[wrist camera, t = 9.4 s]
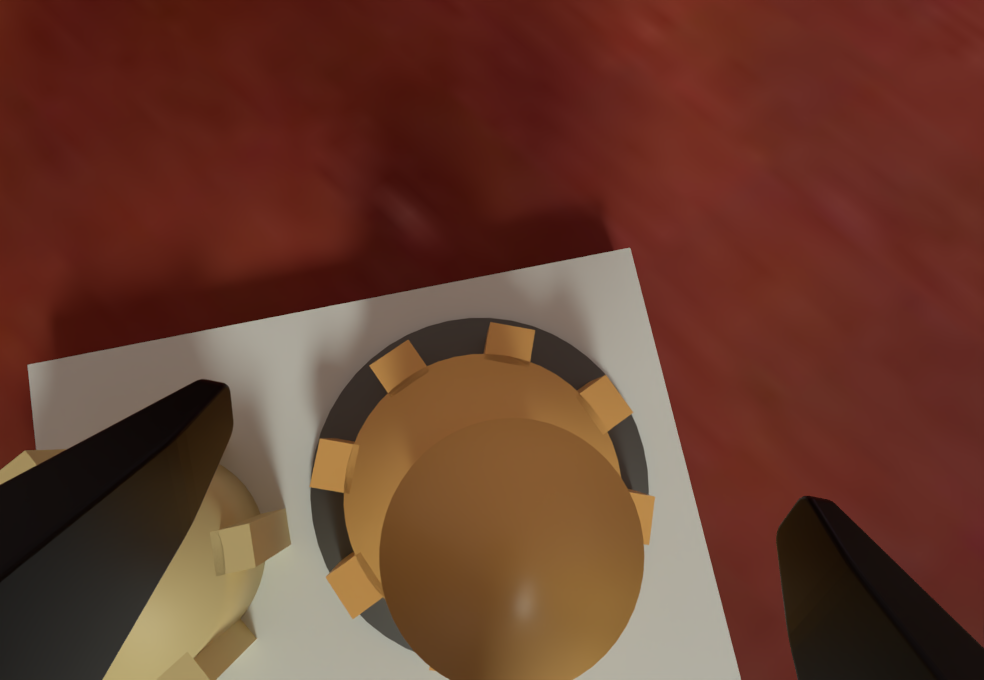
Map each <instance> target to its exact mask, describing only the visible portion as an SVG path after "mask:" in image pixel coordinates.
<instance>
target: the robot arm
mask: <svg viewBox="0 0 984 680" xmlns="http://www.w3.org/2000/svg"><path fill="white" fill-rule="evenodd" d="M233 424H234V421H233V411H232V402H231V392H230V388H229V386H228V385H227V384H225V383H223V382H218V381H212V380H207V379H200V380H197V381H194V382H192V383H191V384H189V385H187V386H185V387H183V388H181V389H179V390H177V391H176V392H174V393H172V394H170V395H168V396H166V397H164V398H162V399H160V400H159V401H157V402H155V403H153V404H151V405H149V406H147V407H145V408H144V409H142V410H140V411H138V412H136V413H134V414H132V415H130V416H128V417H127V418H125V419H123V420H121V421H119V422H117V423H115V424H113V425H112V426H110V427H108V428H106V429H104V430H102V431H100V432H98V433H96V434H95V435H93V436H91V437H89V438H87V439H85V440H83V441H81V442H80V443H78V444H76V445H74V446H72V447H70V448H68V449H66V450H64V451H63V452H61V453H59V454H57V455H55V456H53V457H51V458H49V459H48V460H46V461H44V462H42V463H40V464H38V465H36V466H34V467H32V468H31V469H29V470H27V471H25V472H23V473H21V474H19V475H17V476H16V477H14V478H12V479H10V480H8V481H6V482H4V483H2V484H0V680H103V678H104V676H105V675H106V673H107V671H108V670H109V668H110V666H111V664H112V663H113V661H114V659H115V657H116V656H117V654H118V652H119V651H120V649H121V647H122V645H123V644H124V642H125V640H126V639H127V637H128V635H129V633H130V632H131V630H132V628H133V626H134V625H135V623H136V621H137V620H138V618H139V616H140V614H141V613H142V611H143V609H144V607H145V606H146V604H147V602H148V601H149V599H150V597H151V595H152V594H153V592H154V590H155V588H156V587H157V585H158V583H159V582H160V580H161V578H162V576H163V575H164V573H165V571H166V569H167V568H168V566H169V564H170V563H171V561H172V559H173V557H174V556H175V554H176V552H177V551H178V549H179V547H180V545H181V544H182V542H183V540H184V538H185V537H186V535H187V533H188V531H189V529H190V527H191V526H192V524H193V522H194V519H195V517H196V515H197V513H198V511H199V509H200V506H201V504H202V502H203V499H204V497H205V495H206V493H207V490H208V488H209V486H210V483H211V481H212V479H213V477H214V474H215V472H216V470H217V467H218V465H219V463H220V460H221V458H222V456H223V454H224V451H225V449H226V447H227V444H228V442H229V440H230V437H231V435H232V431H233ZM776 544H777V552H778V560H779V569H780V577H781V585H782V593H783V601H784V610H785V618H786V625H787V631H788V637H789V642H790V647H791V652H792V656H793V660H794V665H795V669H796V673H797V678H798V680H984V648H983V647H982V646H981V645H980V644H979V643H978V642H977V641H976V640H975V639H974V638H973V637H972V636H971V635H970V634H968V633H967V632H966V631H965V630H964V629H963V628H962V627H961V626H960V625H959V624H958V623H957V622H956V621H955V620H954V619H953V618H952V617H951V616H950V615H949V614H948V613H947V612H946V611H945V610H944V609H943V608H942V607H941V606H940V605H939V604H938V603H937V602H936V601H935V600H934V599H932V598H931V597H930V596H929V595H928V594H927V593H926V592H925V591H924V590H923V589H922V588H921V587H920V586H919V585H918V584H917V583H916V582H915V581H914V580H913V579H912V578H911V577H910V576H909V575H908V574H907V573H906V572H905V571H904V570H903V569H902V568H901V567H900V566H899V565H898V564H897V563H895V562H894V561H893V560H892V559H891V558H890V557H889V556H888V555H887V554H886V553H885V552H884V551H883V550H882V549H881V548H880V547H879V546H878V545H877V544H876V543H875V542H874V541H873V540H872V539H871V538H870V537H869V536H868V535H867V534H866V533H865V532H864V531H863V530H862V529H861V528H860V527H858V526H857V525H856V524H855V523H854V522H853V521H852V520H851V519H850V518H849V517H848V516H847V515H846V514H845V513H844V512H843V511H842V510H841V509H840V508H839V507H838V506H837V505H836V504H835V503H833V502H832V501H830V500H827V499H822V498H817V497H812V496H804V497H802V498H800V499H799V500H798V501H797V502H796V504H795V505H794V507H793V508H792V509H791V511H790V512H789V514H788V515H787V516H786V518H785V519H784V520H783V522H782V523H781V525H780V526H779V528H778V531H777V536H776Z"/></svg>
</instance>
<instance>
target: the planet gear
mask: <svg viewBox="0 0 984 680" xmlns="http://www.w3.org/2000/svg"><path fill="white" fill-rule="evenodd" d="M534 335H535V330H532V329H526V328H521V327H515V326H510V325H504V324H499V323H493V322H490V325H489V329H488V332H487V336H486V342H485V348H484V353H483V354H470V355H463V356H457V357H453V358H449V359H445V360H442V361H438V362H436V363H434V364H431V365H429V366H426V364H425V363H424V361H423V360H422V358H421V357H420V356H419V354H418V353H417V351H416V350H415V348H414V347H413V345H412V344H411V343H410V341H409V340H407V341H405V342H404V343H402V344H401V345H399V346H398V347H396V348H395V349H393V350H392V351H390V352H389V353H387V354H386V355H384V356H383V357H381V358H380V359H378V360H377V361H375V362H374V363H372V364H371V365H369V366H370V367H371V369H372V370H373V372H374V373H375V375H376V376H377V378H378V379H379V381H380V382H381V384H382V385H383V387H384V388H385V389H386V391H387V392H388V394H387V395H386V396H385V397H384V398H383V399H382V400H381V401H380V402H379V403H378V404H377V406H376V407H375V408H374V409H373V411H372V412H371V413H370V415H369V416H368V418H367V419H366V421H365V423H364V425H363V426H362V428H361V430H360V431H359V433H358V436H357V438H356V440H355V442H354V441H348V440H343V439H337V438H323V439H320V441H319V445H318V450H317V454H316V459H315V464H314V468H313V473H312V477H311V482H310V487H312V488H318V489H324V490H330V491H336V492H342V493H344V513H345V522H346V527H347V531H348V535H349V539H350V543H351V546H352V548H353V552H352V553H351V554H349V555H348V556H347V557H345V558H344V559H342V560H341V561H340V562H339V563H338V564H337V565H336V566H335V567H334V568H333V570H332V571H331V572H330V573H329V574H328V575H327V576H326V579H327V580H328V582H329V583H330V585H331V587H332V588H333V590H334V591H335V593H336V594H337V596H338V597H339V599H340V601H341V602H342V604H343V605H344V607H345V608H346V610H347V611H348V613H349V614H350V616H351V618H352V619H354V618H356V617H357V616H358V615H360V614H361V613H362V612H364V611H365V610H366V609H368V608H369V607H370V606H372V605H373V604H374V603H376V602H377V601H379V600H380V599H381V598H384V599H385V600H386V603H387V606H388V608H389V611H390V613H391V616H392V618H393V620H394V622H395V624H396V626H397V627H398V629H399V631H400V633H401V635H402V636H403V638H404V639H405V640H406V641H407V643H408V644H409V645H410V647H411V648H412V649H413V651H414V652H415V653H416V654H417V655H418V656H419V657H420V658H421V659H422V660H423V661H424V662H425V663H426V664H428V665H429V666H430V667H429V670H432V671H437V672H438V673H439V674H441V675H442V676H444V677H446V678H448V679H449V680H573V679H575V678H577V677H579V676H580V675H581V674H583V673H584V672H586V671H587V670H589V669H590V668H591V667H593V666H594V665H595V664H596V663H597V662H598V661H599V660H600V659H601V658H603V657H604V656H605V655H606V654H607V652H608V651H609V650H610V649H611V648H612V646H613V645H614V644H615V643H616V642H617V640H618V639H619V637H620V635H621V634H622V632H623V631H624V629H625V628H626V626H627V624H628V622H629V620H630V618H631V616H632V613H633V611H634V609H635V606H636V603H637V600H638V597H639V594H640V589H641V584H642V579H643V572H644V544H645V545H649V542H650V534H651V526H652V518H653V510H654V502H655V497H654V496H651V495H648V494H645V493H641V492H638V491H635V490H631V489H628V488H627V487H626V485H625V483H624V482H623V480H622V479H621V474H620V468H619V463H618V459H617V456H616V452H615V449H614V446H613V443H612V441H611V439H610V437H609V434H608V431H609V430H610V429H612V428H613V427H614V426H616V425H617V424H618V423H620V422H621V421H622V420H624V419H625V418H627V417H628V416H629V415H631V414H632V413H633V411H632V410H631V408H630V407H629V406H628V404H627V403H626V402H625V400H624V399H623V397H622V396H621V395H620V393H619V392H618V391H617V389H616V388H615V386H614V385H613V384H612V382H611V381H610V380H609V378H608V377H607V375H604V376H602V377H599V378H597V379H594V380H592V381H590V382H588V383H587V384H585V385H584V386H583V387H581V388H580V389H578V390H576V389H574V388H573V387H572V386H571V385H570V384H569V383H567V382H566V381H565V380H563V379H562V378H560V377H559V376H558V375H556V374H554V373H552V372H551V371H549V370H547V369H545V368H543V367H541V366H539V365H536V364H534V363H531V362H530V359H531V353H532V347H533V341H534Z"/></svg>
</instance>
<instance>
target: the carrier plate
mask: <svg viewBox="0 0 984 680" xmlns="http://www.w3.org/2000/svg"><path fill="white" fill-rule="evenodd" d="M490 322H493V323H499V324H504V325H510V326H515V327H521V328H526V329H532V330H535V335H534V341H533V347H532V353H531V359H530V362H531V363H534V364H536V365H539V366H541V367H543V368H545V369H547V370H549V371H551V372H552V373H554V374H556V375H558V376H559V377H560V378H562V379H563V380H565V381H566V382H567V383H569V384H570V385H571V386H572V387H573V388H574V389H576V390H578V389H580V388H581V387H583V386H584V385H585V384H587V383H588V382H590V381H592V380H594V379H597V378H599V377H602V376H604V375H607V377H608V378H609V380H610V381H611V382H612V384H613V385H614V386H615V388H616V389H617V391H618V392H619V393H620V395H621V396H622V397H623V399H624V400H625V402H626V403H627V404H628V406H629V407H630V408H631V410H632V411H633V413H632V414H631V415H629V416H628V417H627V418H625V419H624V420H622V421H621V422H620V423H618V424H617V425H616V426H614V427H613V428H612V429H610V430H609V431H608V434H609V437H610V439H611V441H612V443H613V446H614V449H615V452H616V456H617V459H618V463H619V468H620V474H621V479H622V480H623V482H624V483H625V485H626V487H627V488H628V489H631V490H635V491H638V492H641V493H645V494H648V495H651V496H654V497H655V502H654V510H653V518H652V526H651V534H650V542H649V545H645V544H644V572H643V579H642V584H641V589H640V594H639V597H638V600H637V603H636V606H635V609H634V611H633V613H632V616H631V618H630V620H629V622H628V624H627V626H626V628H625V629H624V631H623V632H622V634H621V635H620V637H619V639H618V640H617V642H616V643H615V644H614V645H613V646H612V648H611V649H610V650H609V651H608V652H607V654H606V655H605V656H604V657H603V658H601V659H600V660H599V661H598V662H597V663H596V664H595V665H594V666H593V667H591V668H590V669H589V670H587V671H586V672H584V673H583V674H581V675H580V676H579V677H577V678H575V679H573V680H741V678H740V674H739V670H738V666H737V662H736V658H735V654H734V650H733V647H732V643H731V639H730V635H729V631H728V627H727V623H726V619H725V615H724V611H723V608H722V604H721V600H720V596H719V592H718V588H717V584H716V580H715V576H714V573H713V569H712V565H711V561H710V557H709V553H708V549H707V545H706V541H705V537H704V534H703V530H702V526H701V522H700V518H699V514H698V510H697V506H696V502H695V499H694V495H693V491H692V487H691V483H690V479H689V475H688V471H687V467H686V463H685V460H684V456H683V452H682V448H681V444H680V440H679V436H678V432H677V428H676V425H675V421H674V417H673V413H672V409H671V405H670V401H669V397H668V393H667V389H666V386H665V382H664V378H663V374H662V370H661V366H660V362H659V358H658V354H657V351H656V347H655V343H654V339H653V335H652V331H651V327H650V323H649V319H648V315H647V312H646V308H645V304H644V300H643V296H642V292H641V288H640V284H639V280H638V277H637V273H636V269H635V265H634V261H633V257H632V253H631V249H630V248H626V249H621V250H616V251H611V252H605V253H600V254H595V255H590V256H585V257H580V258H575V259H569V260H564V261H559V262H554V263H549V264H544V265H539V266H533V267H528V268H523V269H518V270H513V271H508V272H503V273H497V274H492V275H487V276H482V277H477V278H472V279H467V280H461V281H456V282H451V283H446V284H441V285H436V286H431V287H425V288H420V289H415V290H410V291H405V292H400V293H395V294H389V295H384V296H379V297H374V298H369V299H364V300H359V301H353V302H348V303H343V304H338V305H333V306H328V307H323V308H317V309H312V310H307V311H302V312H297V313H292V314H287V315H281V316H276V317H271V318H266V319H261V320H256V321H251V322H245V323H240V324H235V325H230V326H225V327H220V328H215V329H209V330H204V331H199V332H194V333H189V334H184V335H179V336H173V337H168V338H163V339H158V340H153V341H148V342H143V343H137V344H132V345H127V346H122V347H117V348H112V349H107V350H101V351H96V352H91V353H86V354H81V355H76V356H71V357H65V358H60V359H55V360H50V361H45V362H40V363H35V364H29V365H28V375H29V385H30V395H31V404H32V414H33V424H34V434H35V443H36V450H25V451H24V452H23V453H21V454H20V455H19V456H18V457H16V458H15V459H14V460H13V461H11V462H10V463H9V464H8V465H6V466H5V467H4V468H3V469H1V470H0V484H2V483H4V482H6V481H8V480H10V479H12V478H14V477H16V476H17V475H19V474H21V473H23V472H25V471H27V470H29V469H31V468H32V467H34V466H36V465H38V464H40V463H42V462H44V461H46V460H48V459H49V458H51V457H53V456H55V455H57V454H59V453H61V452H63V451H64V450H66V449H68V448H70V447H72V446H74V445H76V444H78V443H80V442H81V441H83V440H85V439H87V438H89V437H91V436H93V435H95V434H96V433H98V432H100V431H102V430H104V429H106V428H108V427H110V426H112V425H113V424H115V423H117V422H119V421H121V420H123V419H125V418H127V417H128V416H130V415H132V414H134V413H136V412H138V411H140V410H142V409H144V408H145V407H147V406H149V405H151V404H153V403H155V402H157V401H159V400H160V399H162V398H164V397H166V396H168V395H170V394H172V393H174V392H176V391H177V390H179V389H181V388H183V387H185V386H187V385H189V384H191V383H192V382H194V381H197V380H200V379H207V380H212V381H218V382H223V383H225V384H227V385H228V386H229V388H230V392H231V402H232V411H233V421H234V424H233V431H232V435H231V437H230V440H229V442H228V444H227V447H226V449H225V451H224V454H223V456H222V458H221V460H220V463H219V465H218V467H217V470H216V472H215V474H214V477H213V479H212V481H211V483H210V486H209V488H208V490H207V493H206V495H205V497H204V499H203V502H202V504H201V506H200V509H199V511H198V513H197V515H196V517H195V519H194V522H193V524H192V526H191V527H190V529H189V531H188V533H187V535H186V537H185V538H184V540H183V542H182V544H181V545H180V547H179V549H178V551H177V552H176V554H175V556H174V557H173V559H172V561H171V563H170V564H169V566H168V568H167V569H166V571H165V573H164V575H163V576H162V578H161V580H160V582H159V583H158V585H157V587H156V588H155V590H154V592H153V594H152V595H151V597H150V599H149V601H148V602H147V604H146V606H145V607H144V609H143V611H142V613H141V614H140V616H139V618H138V620H137V621H136V623H135V625H134V626H133V628H132V630H131V632H130V633H129V635H128V637H127V639H126V640H125V642H124V644H123V645H122V647H121V649H120V651H119V652H118V654H117V656H116V657H115V659H114V661H113V663H112V664H111V666H110V668H109V670H108V671H107V673H106V675H105V676H104V678H103V680H449V679H448V678H446V677H444V676H442V675H441V674H439V673H438V672H437V671H432V670H429V667H430V666H429V665H428V664H426V663H425V662H424V661H423V660H422V659H421V658H420V657H419V656H418V655H417V654H416V653H415V652H414V651H413V649H412V648H411V647H410V645H409V644H408V643H407V641H406V640H405V639H404V638H403V636H402V635H401V633H400V631H399V629H398V627H397V626H396V624H395V622H394V620H393V618H392V616H391V613H390V611H389V608H388V606H387V603H386V600H385V599H384V598H381V599H380V600H379V601H377V602H376V603H374V604H373V605H372V606H370V607H369V608H368V609H366V610H365V611H364V612H362V613H361V614H360V615H358V616H357V617H356V618H354V619H352V618H351V616H350V614H349V613H348V611H347V610H346V608H345V607H344V605H343V604H342V602H341V601H340V599H339V597H338V596H337V594H336V593H335V591H334V590H333V588H332V587H331V585H330V583H329V582H328V580H327V579H326V576H327V575H328V574H329V573H330V572H331V571H332V570H333V568H334V567H335V566H336V565H337V564H338V563H339V562H340V561H341V560H342V559H344V558H345V557H347V556H348V555H349V554H351V553H352V552H353V548H352V546H351V543H350V539H349V535H348V531H347V527H346V522H345V513H344V493H342V492H336V491H330V490H324V489H318V488H312V487H310V482H311V477H312V473H313V468H314V464H315V459H316V454H317V450H318V445H319V441H320V439H323V438H337V439H343V440H348V441H354V442H355V440H356V438H357V436H358V433H359V431H360V430H361V428H362V426H363V425H364V423H365V421H366V419H367V418H368V416H369V415H370V413H371V412H372V411H373V409H374V408H375V407H376V406H377V404H378V403H379V402H380V401H381V400H382V399H383V398H384V397H385V396H386V395H387V394H388V392H387V391H386V389H385V388H384V387H383V385H382V384H381V382H380V381H379V379H378V378H377V376H376V375H375V373H374V372H373V370H372V369H371V367H370V366H369V365H371V364H372V363H374V362H375V361H377V360H378V359H380V358H381V357H383V356H384V355H386V354H387V353H389V352H390V351H392V350H393V349H395V348H396V347H398V346H399V345H401V344H402V343H404V342H405V341H407V340H409V341H410V343H411V344H412V345H413V347H414V348H415V350H416V351H417V353H418V354H419V356H420V357H421V358H422V360H423V361H424V363H425V364H426V366H429V365H431V364H434V363H436V362H438V361H442V360H445V359H449V358H453V357H457V356H463V355H470V354H483V353H484V348H485V342H486V336H487V332H488V329H489V325H490Z"/></svg>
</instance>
